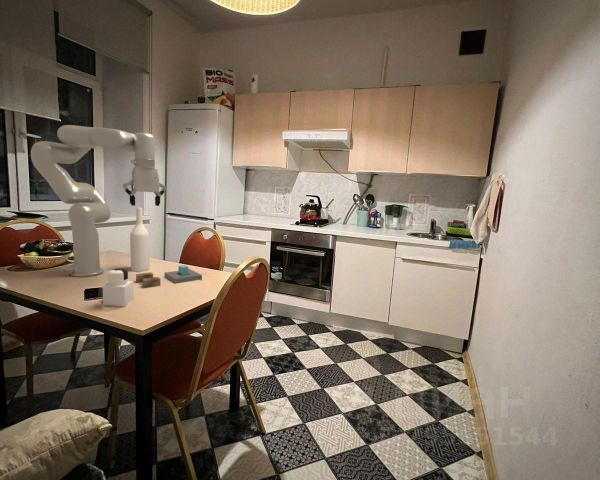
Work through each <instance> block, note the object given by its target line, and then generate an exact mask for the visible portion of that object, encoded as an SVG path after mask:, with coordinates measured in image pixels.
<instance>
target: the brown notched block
mask: <svg viewBox="0 0 600 480" xmlns="http://www.w3.org/2000/svg"><path fill="white" fill-rule="evenodd" d="M135 282H136V283H138V284H139V285H140V286H142V287H143V288H144V289H147V288H148V289H149V288H154V287H160V286H161V278H160V277H159V276H154V273H152V272H145V273H136V274H135Z"/></svg>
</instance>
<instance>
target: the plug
mask: <svg viewBox="0 0 600 480" xmlns="http://www.w3.org/2000/svg"><path fill="white" fill-rule="evenodd" d="M177 268H178V269H177V271H178V275H180V276H183V275H189V269H190V268H189V266H188V265H186V264H181V265H178V267H177Z"/></svg>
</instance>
